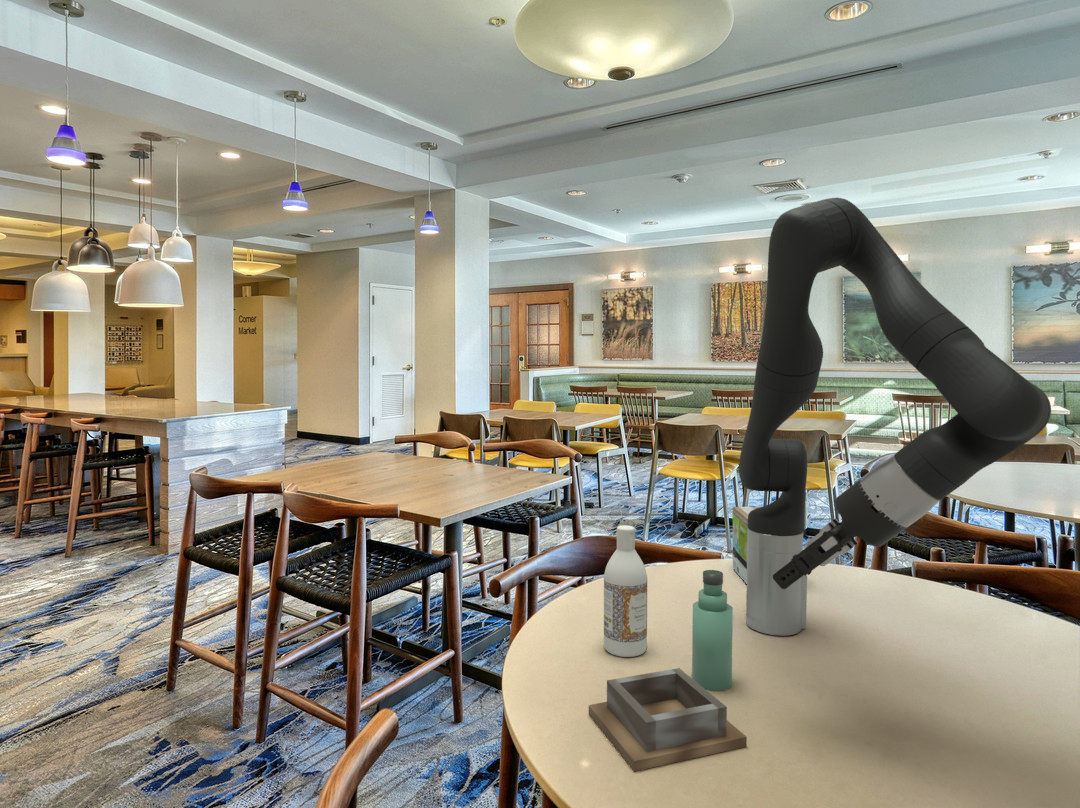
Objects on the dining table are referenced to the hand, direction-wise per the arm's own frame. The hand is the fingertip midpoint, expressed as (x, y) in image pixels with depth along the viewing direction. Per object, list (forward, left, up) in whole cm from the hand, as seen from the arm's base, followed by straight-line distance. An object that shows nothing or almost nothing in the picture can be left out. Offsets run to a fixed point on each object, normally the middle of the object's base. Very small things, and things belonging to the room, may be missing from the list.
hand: (788, 574), depth 87 cm
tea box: (-31, -45, -18) cm, 58 cm away
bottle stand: (+19, 0, -18) cm, 26 cm away
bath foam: (+13, -23, -18) cm, 32 cm away
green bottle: (+6, -9, -18) cm, 21 cm away
